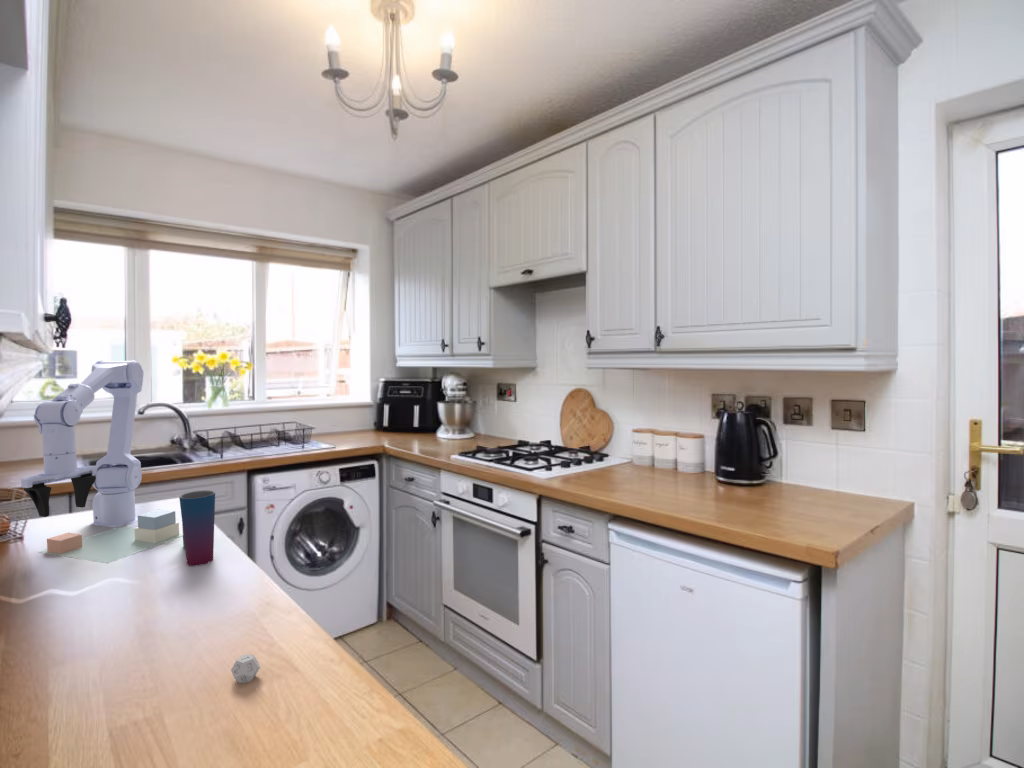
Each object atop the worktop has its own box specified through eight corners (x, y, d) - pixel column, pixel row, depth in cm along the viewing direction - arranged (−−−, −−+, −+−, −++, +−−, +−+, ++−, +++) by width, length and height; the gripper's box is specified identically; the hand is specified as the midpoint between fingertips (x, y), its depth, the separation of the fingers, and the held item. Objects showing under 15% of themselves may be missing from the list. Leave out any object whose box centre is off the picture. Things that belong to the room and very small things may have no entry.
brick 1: (47, 551, 123) (46, 538, 122) (68, 544, 127) (68, 532, 127) (61, 553, 121) (60, 540, 121) (82, 546, 126) (81, 534, 125)
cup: (222, 560, 118) (219, 493, 117) (187, 570, 113) (184, 500, 112) (211, 553, 123) (209, 488, 122) (177, 561, 118) (175, 494, 117)
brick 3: (134, 540, 130) (134, 528, 130) (159, 531, 136) (159, 520, 136) (154, 543, 128) (154, 530, 128) (179, 534, 134) (178, 522, 134)
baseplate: (38, 554, 122) (38, 551, 122) (121, 528, 141) (121, 526, 140) (107, 565, 116) (107, 563, 116) (185, 536, 134) (185, 534, 134)
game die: (230, 676, 76) (229, 656, 76) (259, 668, 78) (258, 648, 78) (232, 689, 73) (231, 668, 73) (261, 681, 75) (261, 660, 75)
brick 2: (138, 527, 130) (137, 515, 130) (159, 520, 135) (158, 509, 135) (154, 529, 128) (154, 517, 128) (175, 522, 133) (175, 511, 133)
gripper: (35, 460, 115) (38, 522, 115) (104, 448, 128) (107, 504, 129) (13, 458, 117) (16, 519, 118) (84, 447, 131) (86, 501, 131)
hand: (62, 511), depth 124 cm, fingers open, 7 cm apart
